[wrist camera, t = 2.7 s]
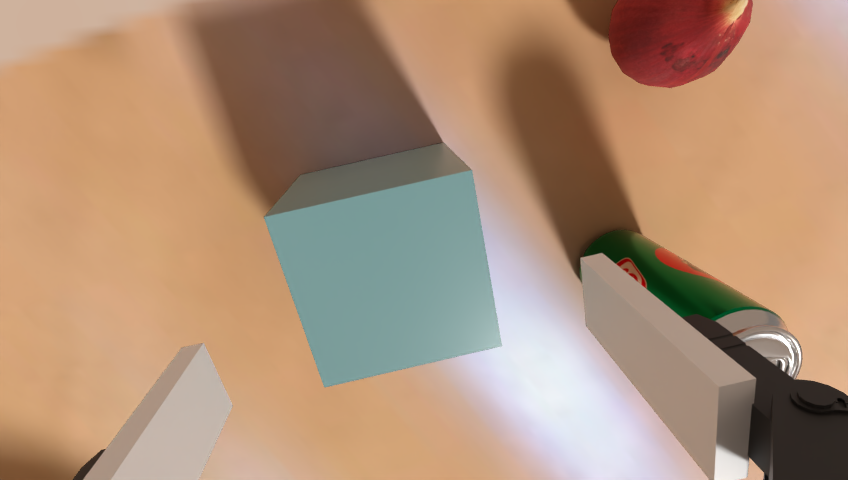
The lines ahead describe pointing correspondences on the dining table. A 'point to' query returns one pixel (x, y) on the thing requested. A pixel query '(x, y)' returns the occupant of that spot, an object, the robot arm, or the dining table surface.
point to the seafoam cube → (386, 263)
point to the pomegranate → (675, 37)
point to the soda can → (700, 295)
